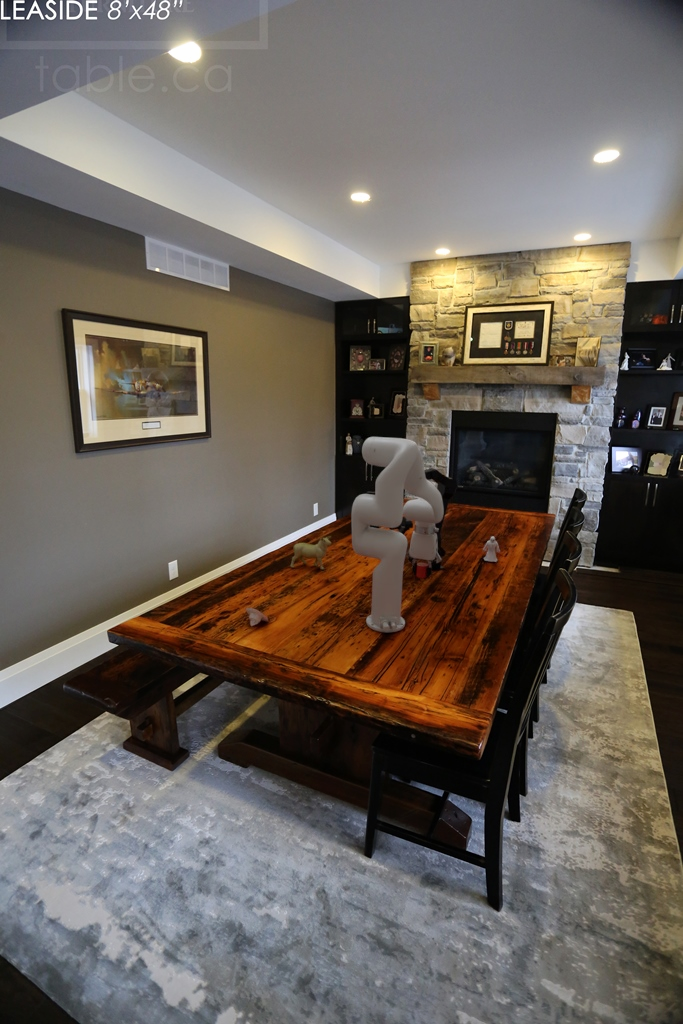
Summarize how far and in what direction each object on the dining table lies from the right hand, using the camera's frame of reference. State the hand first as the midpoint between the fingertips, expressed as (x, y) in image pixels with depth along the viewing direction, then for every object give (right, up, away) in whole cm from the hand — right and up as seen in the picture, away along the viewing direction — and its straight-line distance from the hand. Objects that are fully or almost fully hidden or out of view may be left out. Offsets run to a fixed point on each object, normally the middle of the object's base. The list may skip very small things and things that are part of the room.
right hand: (388, 544), depth 206 cm
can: (+12, -11, -14) cm, 21 cm away
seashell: (-47, -23, -45) cm, 69 cm away
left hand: (+11, -11, -14) cm, 21 cm away
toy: (-32, -11, +5) cm, 34 cm away
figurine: (+48, -9, +19) cm, 52 cm away
